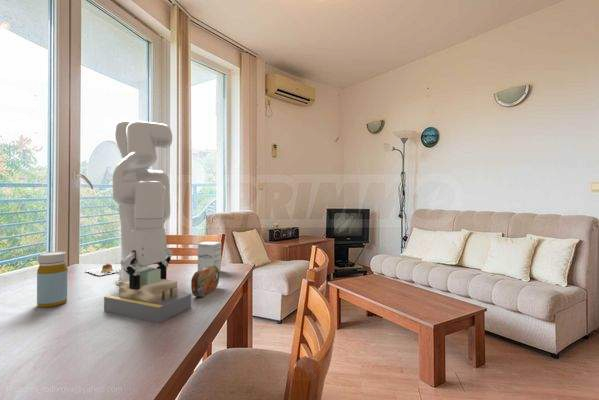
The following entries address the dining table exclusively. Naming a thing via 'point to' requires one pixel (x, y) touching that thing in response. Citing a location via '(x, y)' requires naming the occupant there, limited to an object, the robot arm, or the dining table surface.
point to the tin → (205, 281)
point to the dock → (147, 307)
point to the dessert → (105, 269)
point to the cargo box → (149, 275)
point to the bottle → (52, 279)
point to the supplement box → (209, 255)
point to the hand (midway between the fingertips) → (148, 284)
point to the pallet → (149, 290)
